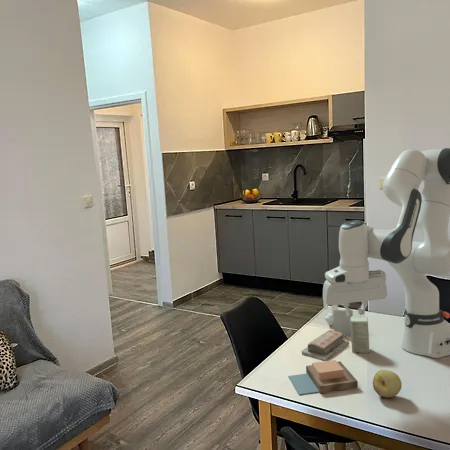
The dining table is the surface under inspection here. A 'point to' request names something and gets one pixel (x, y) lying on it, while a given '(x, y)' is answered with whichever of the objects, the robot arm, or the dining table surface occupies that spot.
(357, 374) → the dining table surface
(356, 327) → the skincare box
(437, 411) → the dining table surface
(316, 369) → the terracotta tile
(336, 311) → the grey block
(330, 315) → the figurine
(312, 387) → the slate mat
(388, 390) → the fruit
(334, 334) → the packaged product
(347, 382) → the walnut stand
